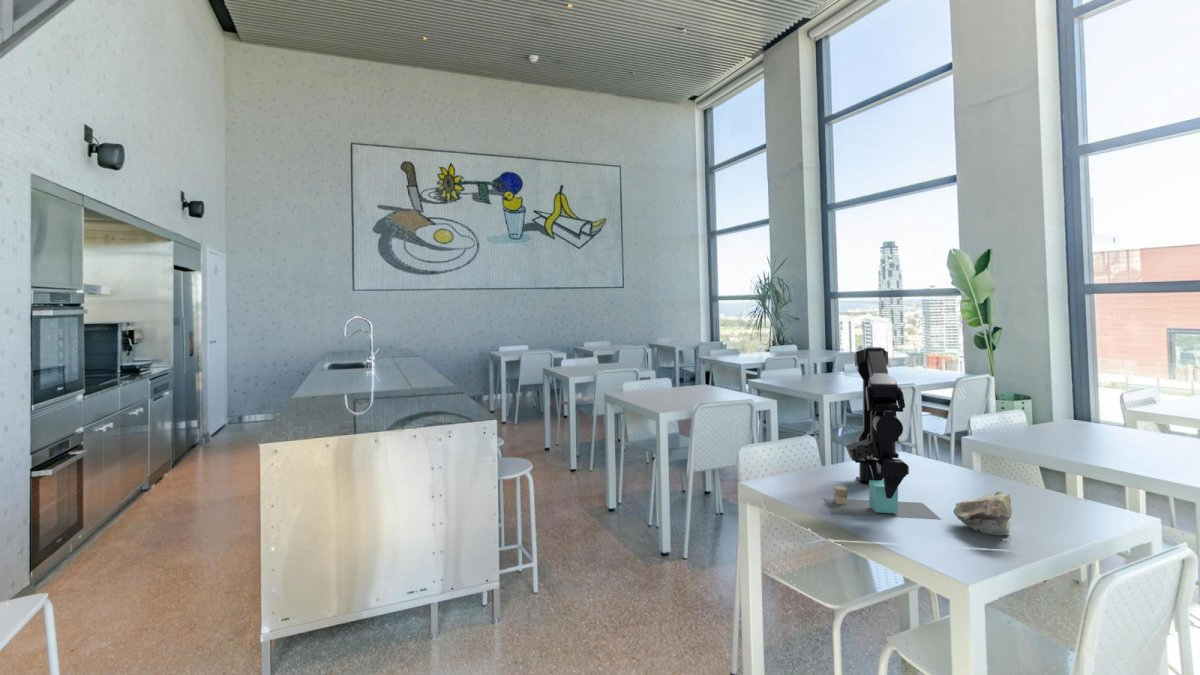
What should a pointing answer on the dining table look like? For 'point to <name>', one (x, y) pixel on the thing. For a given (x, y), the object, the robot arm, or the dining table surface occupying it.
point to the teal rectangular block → (881, 498)
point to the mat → (865, 510)
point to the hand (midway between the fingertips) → (883, 492)
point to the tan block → (840, 495)
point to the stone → (986, 513)
